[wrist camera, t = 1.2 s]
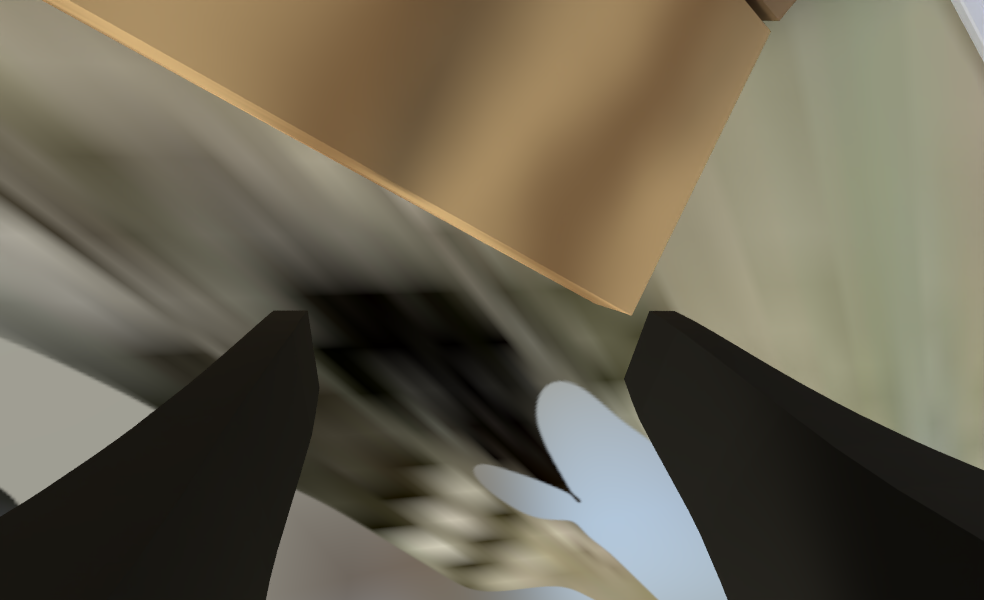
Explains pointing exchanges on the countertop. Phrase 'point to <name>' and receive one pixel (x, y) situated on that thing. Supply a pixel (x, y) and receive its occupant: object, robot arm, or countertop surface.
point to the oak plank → (483, 107)
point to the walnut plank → (770, 8)
